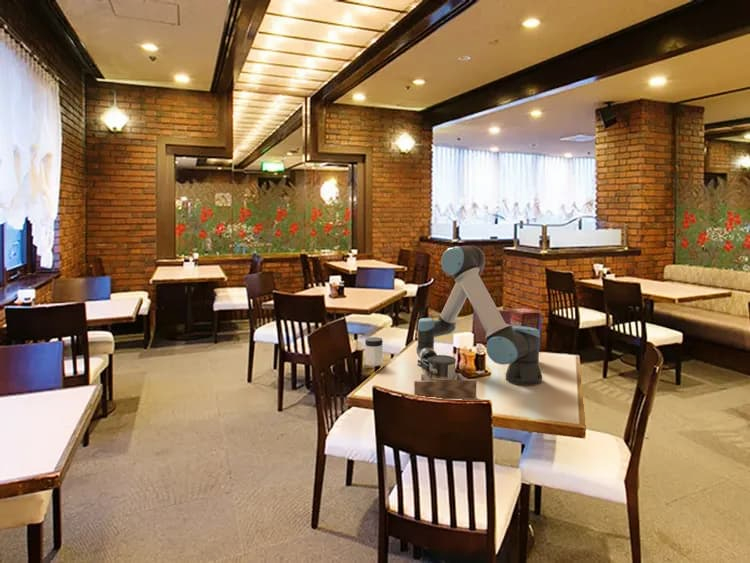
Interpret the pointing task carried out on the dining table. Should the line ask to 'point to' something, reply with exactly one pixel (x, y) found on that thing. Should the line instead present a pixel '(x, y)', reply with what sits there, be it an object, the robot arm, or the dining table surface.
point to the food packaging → (524, 317)
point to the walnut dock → (446, 387)
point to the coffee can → (442, 367)
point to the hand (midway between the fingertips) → (438, 374)
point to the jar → (373, 351)
